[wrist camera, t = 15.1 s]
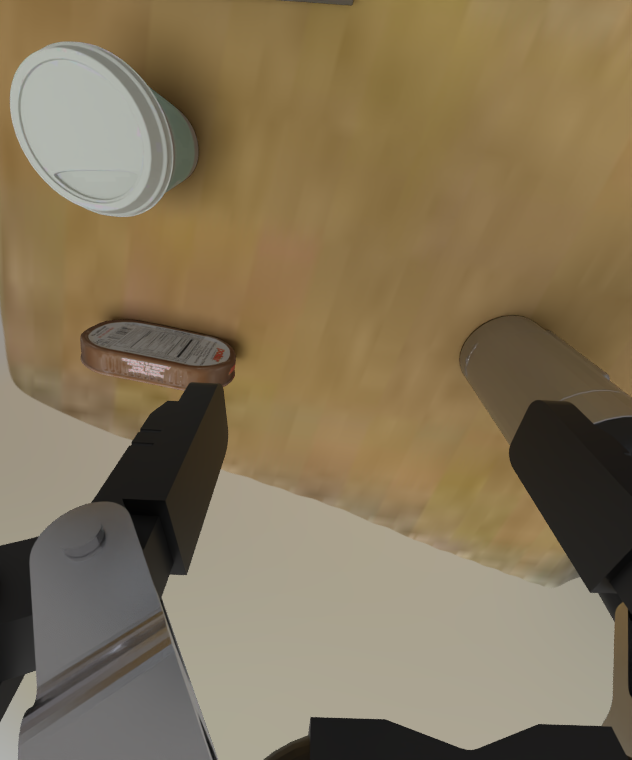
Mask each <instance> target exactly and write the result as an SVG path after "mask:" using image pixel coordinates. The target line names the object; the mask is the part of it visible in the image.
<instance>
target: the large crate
mask: <svg viewBox="0 0 632 760" xmlns="http://www.w3.org/2000/svg"><path fill="white" fill-rule="evenodd" d="M283 1H298V2H312V3H326V4H340V5H352V3H353V0H283Z"/></svg>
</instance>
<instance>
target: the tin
mask: <svg viewBox="0 0 632 760" xmlns="http://www.w3.org/2000/svg"><path fill="white" fill-rule="evenodd" d="M81 352H82V353H81V361H82V363H83V364H84V365H85V366H86V367H87V368H89V369H90V370H92V371H94V372H97V373H100V374H103V375H108V376H113V377H118V378H123V379H128V380H134V381H139V382H144V383H149V384H154V385H159V386H164V387H169V388H174V389H178V390H184V391H185V389H186V388H187V386H188V384H189V383H191V382H199V383H219V384H222V386H223V387H224V386H226V385H228V384H229V383H230V382H231V381H232V380H233V378H234V376H235V370H234V369H235V362H236V355H235V352H234V349H233V348H232V347H231V346H230V345H229V344H227V343H226V342H224V341H222V340H220V339H218V338H215V337H212V336H208V335H203V334H199V333H195V332H190V331H186V330H181V329H176V328H172V327H167V326H162V325H158V324H153V323H148V322H143V321H136V320H112V321H105V322H102V323H99V324H97V325H95V326H93V327H91V328H89V329H87V330H86V331H84V332H83V333H82V334H81Z"/></svg>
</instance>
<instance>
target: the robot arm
mask: <svg viewBox="0 0 632 760" xmlns="http://www.w3.org/2000/svg"><path fill="white" fill-rule="evenodd" d="M460 367H461V370H462V373H463V374H464V376H465V377H466V379H467V380H468V382H469V383H470V385H471V386H472V388H473V390H474V391H475V393H476V394H477V396H478V397H479V399H480V400H481V402H482V403H483V405H484V407H485V408H486V410H487V411H488V413H489V414H490V416H491V417H492V419H493V420H494V422H495V423H496V425H497V426H498V428H499V429H500V431H501V432H502V434H503V435H504V437H505V438H506V440H507V441H508V443H509V445H510V448H509V458H510V462H511V465H512V467H513V469H514V470H515V472H516V474H517V475H518V477H519V479H520V480H521V482H522V483H523V485H524V487H525V488H526V490H527V491H528V493H529V495H530V496H531V498H532V500H533V501H534V503H535V504H536V506H537V508H538V509H539V511H540V512H541V514H542V516H543V517H544V519H545V520H546V522H547V524H548V525H549V527H550V529H551V530H552V532H553V533H554V535H555V537H556V538H557V540H558V541H559V543H560V545H561V546H562V548H563V550H564V551H565V553H566V554H567V556H568V558H569V559H570V561H571V562H572V564H573V566H574V567H575V569H576V571H577V572H578V574H579V575H580V577H581V579H582V580H583V582H584V583H585V585H586V587H587V588H588V590H589V591H590V593H599V595H600V597H601V599H602V601H603V602H604V604H605V606H606V608H607V609H608V611H609V613H610V615H611V616H612V618H613V620H614V622H615V635H614V670H613V673H614V674H613V699H612V705H611V708H610V711H609V713H608V715H607V717H606V719H605V721H604V722H603V724H602V726H577V725H546V724H538V725H536V726H533V727H531V728H528V729H526V730H523V731H521V732H518V733H516V734H513V735H511V736H508V737H506V738H503V739H501V740H498V741H496V742H493V743H491V744H488V745H486V746H483V747H481V748H478V749H475V750H465V749H461V748H458V747H456V746H453V745H450V744H448V743H445V742H443V741H440V740H438V739H435V738H432V737H430V736H427V735H425V734H422V733H419V732H417V731H414V730H412V729H409V728H406V727H404V726H401V725H398V724H396V723H393V722H391V721H388V720H385V719H383V720H382V719H352V718H320V717H311V719H310V726H309V734H308V736H305V737H303V738H300V739H297V740H295V741H293V742H290V743H288V744H287V745H285V746H283V747H281V748H280V749H278V750H276V751H274V752H273V753H271V754H270V755H269V756H268V757H266V758H265V759H264V760H632V397H630V396H629V395H628V394H626V393H625V392H624V391H622V390H621V389H620V388H619V387H617V386H616V385H615V384H613V383H612V382H611V381H610V380H609V379H610V378H609V375H608V374H607V373H606V372H604V371H603V370H602V369H600V368H599V367H598V366H596V365H595V364H594V363H592V362H591V361H590V360H588V359H587V358H586V357H584V356H583V355H582V354H580V353H579V352H578V351H576V350H575V349H574V348H572V347H571V346H570V345H568V344H567V343H566V342H564V341H563V340H562V339H560V338H559V337H558V336H557V335H555V334H554V333H553V332H551V331H549V330H544V329H543V328H541V327H540V326H539V325H538V324H536V323H535V322H533V321H532V320H530V319H528V318H525V317H522V316H504V317H500V318H497V319H494V320H491V321H489V322H487V323H485V324H484V325H482V326H481V327H479V328H478V329H477V330H475V331H474V332H473V333H472V334H471V335H470V336H469V338H468V339H467V341H466V342H465V344H464V346H463V348H462V350H461V354H460ZM227 444H228V425H227V416H226V408H225V399H224V390H223V386H222V384H219V383H199V382H191V383H189V384H188V386H187V388H186V389H185V391H184V393H183V395H182V396H181V398H180V400H179V401H167V402H166V403H164V404H163V405H161V406H160V407H159V408H157V409H156V410H155V411H153V412H152V413H151V414H150V415H149V417H148V418H147V420H146V421H145V423H144V424H143V426H142V427H141V429H140V432H138V433H137V435H136V436H135V438H134V439H133V441H132V445H131V446H129V447H128V448H127V450H126V451H125V453H124V454H123V456H122V458H121V459H120V461H119V462H118V464H117V465H116V467H115V468H114V470H113V471H112V473H111V474H110V476H109V477H108V479H107V480H106V482H105V483H104V485H103V486H102V488H101V489H100V491H99V492H98V494H97V495H96V497H95V498H94V500H93V501H92V502H91V503H89V504H85V505H82V506H79V507H77V508H75V509H73V510H70V511H69V512H67V513H65V514H64V515H62V516H60V517H59V518H57V519H56V520H55V521H53V522H52V523H51V524H50V525H49V526H48V527H47V528H46V529H45V530H44V531H43V532H42V533H41V534H40V536H38V537H35V538H31V539H28V540H23V541H19V542H14V543H10V544H6V545H1V546H0V721H1V719H2V718H3V715H4V714H5V712H6V710H7V708H8V706H9V704H10V702H11V700H12V698H13V696H14V695H15V693H16V691H17V689H18V687H19V685H20V683H21V681H22V679H23V677H24V675H25V674H27V673H30V672H33V671H36V677H37V695H36V700H35V703H34V705H33V707H31V708H29V709H28V710H27V711H26V713H25V714H24V717H23V719H22V723H21V727H20V733H19V744H18V760H218V758H217V755H216V752H215V749H214V746H213V743H212V740H211V738H210V735H209V732H208V729H207V726H206V723H205V721H204V718H203V715H202V712H201V709H200V707H199V704H198V701H197V698H196V696H195V693H194V690H193V687H192V684H191V681H190V678H189V676H188V673H187V670H186V667H185V664H184V661H183V658H182V656H181V652H180V650H179V646H178V644H177V641H176V638H175V635H174V632H173V629H172V626H171V623H170V620H169V618H168V615H167V612H166V609H165V606H164V603H163V600H162V594H163V591H164V588H165V586H166V583H167V580H168V577H169V575H170V574H173V575H187V572H188V569H189V566H190V563H191V560H192V557H193V554H194V550H195V547H196V544H197V541H198V538H199V535H200V531H201V529H202V525H203V522H204V519H205V516H206V513H207V510H208V507H209V504H210V500H211V497H212V494H213V491H214V488H215V485H216V482H217V479H218V475H219V472H220V469H221V466H222V463H223V460H224V457H225V454H226V450H227Z"/></svg>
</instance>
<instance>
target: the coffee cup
mask: <svg viewBox="0 0 632 760" xmlns="http://www.w3.org/2000/svg"><path fill="white" fill-rule="evenodd" d="M10 110H11V117H12V122H13V126H14V130H15V133H16V136H17V138H18V141H19V143H20V145H21V147H22V149H23V151H24V153H25V155H26V157H27V158H28V160H29V162H30V163H31V165H32V166H33V167H34V169H35V170H36V171H37V173H38V174H39V175H40V176H41V177H42V179H43V180H44V181H45V182H46V183H47V184H48V185H49V186H50V187H51V188H53V189H54V190H55V191H56V192H58V193H59V194H60V195H62V196H63V197H64V198H66V199H68V200H69V201H71V202H73V203H75V204H77V205H79V206H82V207H84V208H86V209H88V210H90V211H93V212H95V213H99V214H102V215H107V216H116V217H129V216H135V215H138V214H141V213H143V212H145V211H147V210H149V209H150V208H152V207H153V206H154V205H155V204H157V203H158V201H159V200H160V199H161V198H162V196H163V195H164V193H166V192H167V191H169V190H170V189H172V188H173V187H175V186H177V185H178V184H180V183H181V182H183V181H184V180H185V179H187V178H188V177H189V176H190V175H191V174H192V173H193V171H194V169H195V167H196V165H197V161H198V142H197V138H196V134H195V132H194V130H193V127H192V126H191V124H190V122H189V121H188V119H187V118H186V117H185V116H184V114H183V113H182V112H181V111H179V110H178V109H177V108H176V107H174V106H173V105H172V104H171V103H169V102H168V101H167V100H166V99H164V98H163V97H162V96H160V95H159V94H158V93H156V92H155V91H154V90H152V89H151V88H150V87H148V85H147V84H146V83H145V82H144V80H143V79H142V78H141V77H140V76H139V75H138V74H137V73H136V72H135V71H134V70H133V69H132V68H131V67H130V66H129V65H128V64H127V63H125V62H124V61H123V60H122V59H120V58H119V57H117V56H116V55H114V54H112V53H111V52H109V51H107V50H105V49H103V48H100V47H98V46H95V45H92V44H88V43H82V42H58V43H54V44H51V45H48V46H46V47H44V48H42V49H40V50H38V51H36V52H34V53H32V54H31V55H30V56H28V57H27V58H26V59H25V60H24V61H23V62H22V63H21V65H20V66H19V67H18V69H17V71H16V73H15V75H14V78H13V81H12V86H11V91H10Z"/></svg>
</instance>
